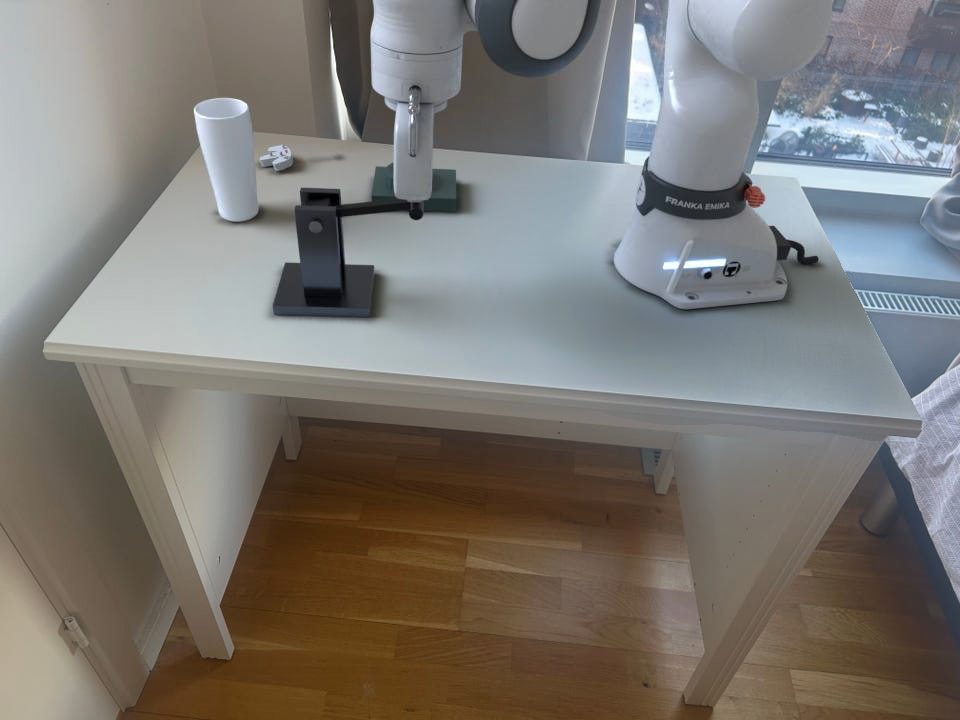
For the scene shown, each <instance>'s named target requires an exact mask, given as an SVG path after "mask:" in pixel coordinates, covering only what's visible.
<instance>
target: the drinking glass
mask: <svg viewBox="0 0 960 720" xmlns="http://www.w3.org/2000/svg"><path fill="white" fill-rule="evenodd" d="M193 114H194V121H195V128H196V133H197V137H198V142H199V145H200V149H201V153H202V156H203V159H204V163H205V166H206V169H207V173H208V177H209V180H210V184H211V187H212V191H213V194H214V198H215V201H216V206H217V211H218V214H219V216H220V217H221V218H222V219H224V220H226V221H229V222H233V223H234V222H235V223H238V222H239V223H240V222H245V221H249V220H251V219H253V218H255V217H256V216H257V215H258V213H259V210H260V206H259V200H258V199H259V198H258V189H257V188H258V187H257V173H256V171H257V170H256V153H255V152H256V151H255V137H254V136H255V135H254V128H253V122H252V117H251V112H250V107H249V104H247V103H246V102H245V101H243V100H241V99H237V98H233V97H232V98H231V97H216V98H210V99H206V100H203V101H201V102H198V103H197V104H196V105H195V106H194V108H193Z"/></svg>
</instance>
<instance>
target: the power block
mask: <svg viewBox="0 0 960 720" xmlns="http://www.w3.org/2000/svg"><path fill="white" fill-rule="evenodd" d="M370 197H371V198H370V199H371V201H380V200H389V199H398V198H397V197H396V196H395V193H394V161H393V162H391V163H390V164H388V165H387V166H380V165H379V166H378V165H377V166H376V165H375V169H374V176H373V181H372V189H371V195H370ZM457 201H458V199H457V169H452V168H451V169H450V168H433V169H432V193H431V197H430V198H429V199H428V200H424V209H423V212H433V213H436V212H437V213H457V203H458V202H457ZM404 211H405V212H406V211H407V212H409V210H404ZM404 211H403V212H404Z"/></svg>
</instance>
